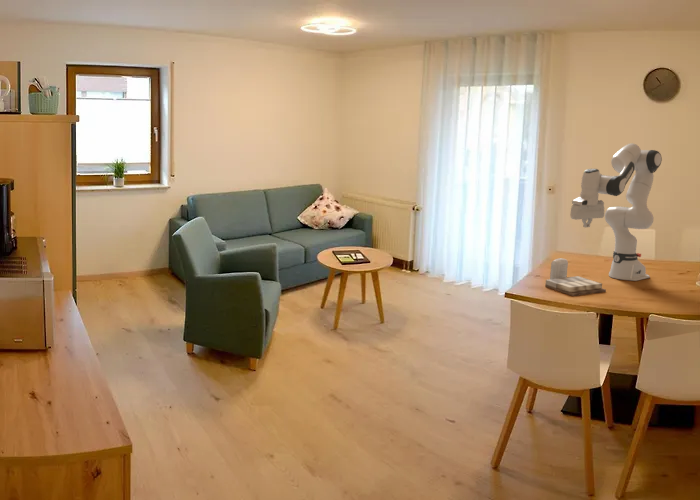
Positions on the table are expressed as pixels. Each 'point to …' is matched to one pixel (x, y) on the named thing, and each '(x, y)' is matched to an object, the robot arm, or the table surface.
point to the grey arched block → (559, 268)
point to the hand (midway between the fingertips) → (586, 227)
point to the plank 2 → (590, 284)
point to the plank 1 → (571, 286)
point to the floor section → (553, 282)
